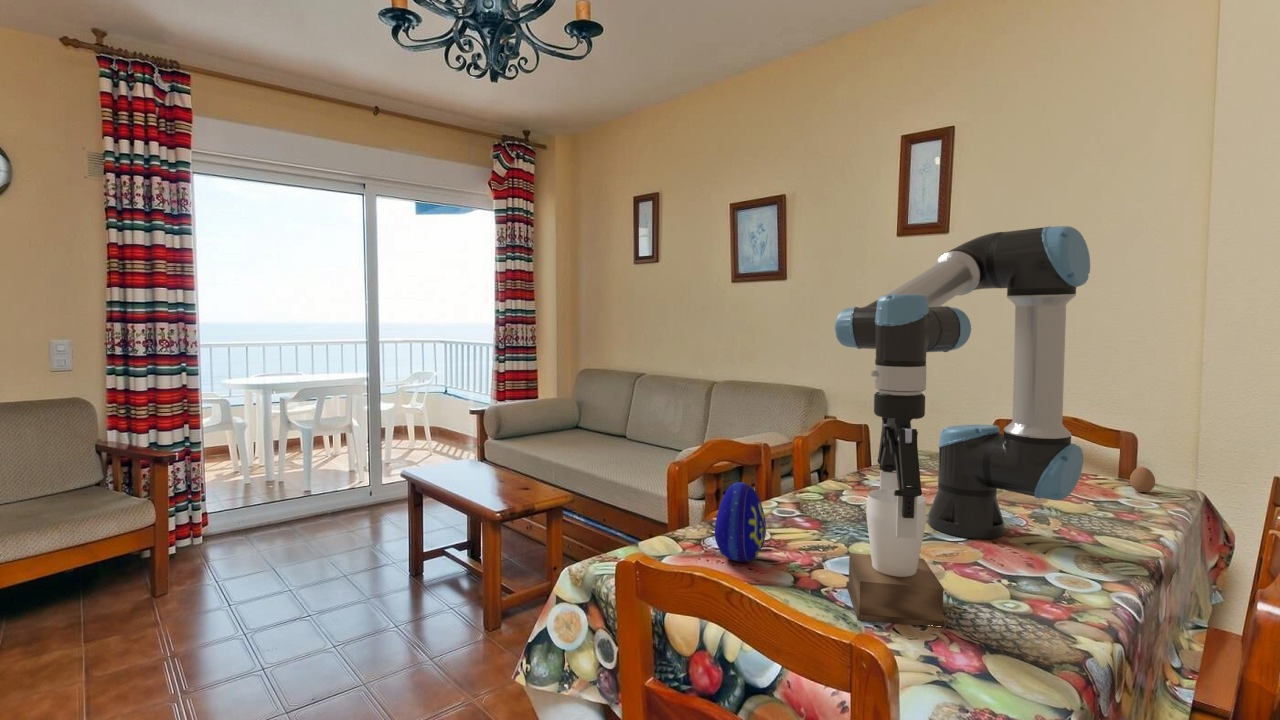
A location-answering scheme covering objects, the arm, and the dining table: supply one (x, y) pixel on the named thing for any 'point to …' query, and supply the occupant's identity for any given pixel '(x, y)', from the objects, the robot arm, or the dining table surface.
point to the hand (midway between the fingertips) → (896, 522)
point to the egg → (1142, 479)
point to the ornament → (740, 523)
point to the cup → (892, 535)
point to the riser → (894, 594)
